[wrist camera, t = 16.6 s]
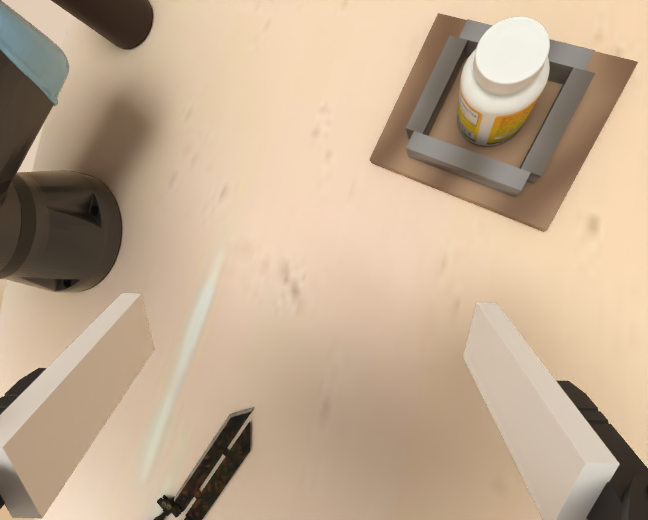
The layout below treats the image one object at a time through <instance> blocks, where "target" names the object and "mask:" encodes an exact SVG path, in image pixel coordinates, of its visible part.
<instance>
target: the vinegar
mask: <svg viewBox="0 0 648 520" xmlns="http://www.w3.org/2000/svg"><path fill="white" fill-rule="evenodd" d="M51 1H53V2H54V3H56V4H57V5H59V6H60V7H62V8H63V9H64V10H66V11H67V12H69V13H70V14H72V15H73V16H74V17H76V18H77V19H79V20H80V21H82V22H83V23H85V24H86V25H87V26H89V27H90V28H92V29H93V30H95V31H96V32H98V33H99V34H100V35H102V36H103V37H105V38H106V39H108V40H109V41H111V42H112V43H113V44H115V45H116V46H119V47H121V48H132V47H134V46H136V45H138V44H139V43H140V42H141V41H142V40H144V38H145V37H146V35H147V34H148V32H149V29H150V26H151V22H152V10H151V6H150V4H149V2H148V0H51Z"/></svg>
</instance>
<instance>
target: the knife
mask: <svg viewBox="0 0 648 520" xmlns="http://www.w3.org/2000/svg"><path fill="white" fill-rule="evenodd" d="M252 410H253V408H250V409H246V410H243V411H239V412H236V413H232V414H230V415H229V417H228V418H227V420H226V421H225V423H224V424H223V426H222V427H221V429H220V430H219V432H218V433H217V435H216V436H215V438H214V439H213V441H212V442H211V444H210V445H209V447H208V448H207V450H206V451H205V453H204V454H203V456H202V457H201V459H200V460H199V462H198V463H197V465H196V466H195V468H194V469H193V471H192V472H191V474H190V475H189V477H188V478H187V480H186V481H185V482H184V484H183V485H182V487H181V488H180V490H179V491H178V493H177V494H176V496H175V497H173V498H172V499H170V500H168V499H167V497H166V496H165V495H164V496H163V499H162V498H160V499H159V500H158V501H157V503H158V504H159V505H160V506H161V508H162V509H163V511H164V512H163V513H162V514H161V515H160V516H158V517H156V518H155V519H154V520H163V519H164V518H165V516H166V515H167V516H168V515H169V514H170V513H171V512H172V514H173V515H174V516H175V517H176V518H177V517H178V516H179V515H180V514H181V512H183V511H184V510H185V508H186V507H187V506H188V504H189V503H190V501H191V500H192V498H193V497H195V498H196V501H195V502H194V504H193V505H192V507H191V508H190V510H189V511H188V513H187V514H186V518H185V519H184V520H202V519H203V517H204V516H205V515H206V513H207V512H208V510H209V509H210V507H211V506H212V504H213V503H214V502H215V500H216V499H217V497H218V496H219V494H220V493H221V492H222V490H223V489H224V487H225V486H226V484H227V483H228V481H229V480H230V479H231V477H232V476H233V474H234V473H235V471H236V470H237V468H238V467H239V466H240V464H241V463H242V461H243V460H244V458H245V457H246V455H247V454H248V453H249V451H250V422H249V423H248V425H247V426H246V427H245V429H244V430H243V432H242V433H241V435H240V436H239V438H238V439H237V441H236V442H235V444H234V445H233V447H232V448H231V449H230V451H228V450H227V449H226V448H227V447H228V445H229V444H230V442H231V441H232V439H233V438H234V436H235V435H236V433H237V432H238V430H239V429H240V427H241V426H242V425H243V423H244V422H245V420H246V419H247V417H248V416H249V414H250V413H251V411H252ZM222 454H224V455H225V458H224V460H223V461H222V463H221V464H220V466H219V467H218V469H217V470H216V471H215V473H214V474H213V476H212V477H211V479H210V480H209V482H208V483H207V485H206V486H205V488H204V489H203V491H202V492H201V493H200V491H199V490H198V489H199V488H200V486H201V485H202V483H203V482H204V480H205V479H206V478H207V476H208V475H209V473H210V472H211V470H212V469H213V467H214V466H215V464H216V463H217V461H218V460H219V458H220V457H221V455H222Z"/></svg>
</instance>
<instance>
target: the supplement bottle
mask: <svg viewBox="0 0 648 520" xmlns="http://www.w3.org/2000/svg"><path fill="white" fill-rule="evenodd" d="M549 49H550V41H549V36H548V33H547V31H546V29H545V28H544V27H543V26H542V25H541V24H540V23H539V22H537V21H536V20H534V19H531V18H527V17H511V18H507V19H504V20H502V21H500V22H498V23H496V24H494V25H493V26H492V27H490V28H489V29H488V30H487V31H486V32H485V33H484V35H483V36H482V37H481V39H480V41H479V43H478V45H477V48H476V49H475V50H474V51H473V52H472V54H471V55H470V56H469V58H468V59H467V61H466V63H465V65H464V67H463V70H462V74H461V81H460V90H459V100H458V111H457V123H458V127H459V129H460V131H461V133H462V134H463V136H464V137H465V138H466V139H467V140H469V141H470V142H472V143H474V144H477V145H481V146H494V145H497V144H500V143H503V142H505V141H507V140H509V139H510V138H512V137H513V136H515V135H516V134H517V133H518V132H519V130H520V129H521V128H522V126H523V125H524V123H525V121H526V119H527V118H528V116H529V114H530V112H531V110H532V109H533V107H534V105H535V103H536V102H537V100H538V98H539V97H540V95H541V93H542V91H543V89H544V87H545V85H546V83H547V80H548V76H549V69H550V66H549V59H548V54H549Z"/></svg>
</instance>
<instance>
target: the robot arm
mask: <svg viewBox="0 0 648 520" xmlns="http://www.w3.org/2000/svg"><path fill="white" fill-rule="evenodd" d="M68 72H69V64H68V60H67V58H66V56H65V54H64V52H63V51H62V50H61V49H60V48H59V47H58V46H57V45H56V44H55V43H54V42H53V41H52V40H50V39H49V38H48V37H47V36H45V35H44V34H43V33H42V32H41V31H39V30H38V29H37V28H35V27H34V26H33V25H32V24H31V23H29V22H28V21H27V20H25V19H24V18H23V17H22V16H20V15H19V14H18V13H16V12H15V11H14V10H13V9H11V8H10V7H9V6H8V5H6V4H5V3H4V2H2V1H1V0H0V279H7V280H11V281H15V282H19V283H22V284H26V285H30V286H34V287H37V288H41V289H45V290H49V291H53V292H77V291H84V290H87V289H89V288H91V287H93V286H95V285H96V284H98V283H99V282H100V281H101V280H102V279H103V278H104V277H105V276H106V274H107V273H108V272H109V270H110V269H111V267H112V265H113V263H114V261H115V259H116V256H117V253H118V250H119V246H120V240H121V219H120V213H119V209H118V206H117V203H116V201H115V198H114V196H113V195H112V193H111V192H110V190H109V189H108V188H107V187H106V185H105V184H103V183H102V182H101V181H100V180H98V179H96V178H94V177H92V176H88V175H85V174H81V173H77V172H73V171H43V172H21V173H17V171H18V169H19V167H20V166H21V164H22V162H23V160H24V158H25V156H26V155H27V153H28V151H29V149H30V147H31V145H32V144H33V141H34V140H35V138H36V136H37V134H38V133H39V131H40V129H41V127H42V125H43V123H44V122H45V120H46V118H47V116H48V114H49V112H50V111H51V109H52V107H53V105H54V106H56V105H57V104H58V99H57V97H58V95H59V93H60V91H61V89H62V86H63V84H64V82H65V80H66V78H67V76H68ZM153 351H154V345H153V340H152V336H151V332H150V328H149V323H148V319H147V315H146V311H145V307H144V302H143V298H142V294H141V293H121V294H120V295H119V296H118V297H117V298H116V299H115V300H114V301H113V302H112V303H111V304H110V305H109V306H108V307H107V308H106V309H105V310H104V311H103V312H102V313H101V314H100V315H99V316H98V317H97V318H96V319H95V320H94V321H93V322H92V323H91V324H90V325H89V326H88V327H87V328H86V329H85V331H84V332H83V333H82V334H81V335H80V336H79V337H78V338H77V339H76V340H75V341H74V342H73V343H72V344H71V345H70V346H69V347H68V348H67V349H66V350H65V351H64V352H63V353H62V354H61V355H60V356H59V357H58V358H57V359H56V360H55V361H54V362H53V363H52V364H51V365H50V366H49V367H48V368H38V369H36V370H35V371H33V372H32V373H30V374H28V375H27V376H25V377H23V378H22V379H20V380H19V381H18V382H17V383H16V384H15V385H14V386H13V387H12V388H11V389H10V390H8V391H7V392H6V393H5V396H4V397H1V398H0V509H1V508H2V506H3V505H4V504H5V506H6V507H7V509H8V511H9V512H10V514H11V515H12V517H13V518H43V516H44V515H45V513H46V512H47V510H48V509H49V507H50V506H51V504H52V503H53V501H54V500H55V498H56V497H57V495H58V494H59V492H60V491H61V489H62V488H63V486H64V485H65V483H66V482H67V480H68V479H69V477H70V476H71V474H72V473H73V471H74V470H75V468H76V467H77V465H78V464H79V462H80V461H81V459H82V458H83V456H84V455H85V453H86V452H87V450H88V449H89V447H90V446H91V444H92V443H93V441H94V439H95V438H96V436H97V435H98V433H99V432H100V430H101V429H102V427H103V426H104V424H105V423H106V421H107V420H108V418H109V417H110V415H111V414H112V412H113V411H114V409H115V408H116V406H117V405H118V403H119V402H120V400H121V399H122V397H123V396H124V394H125V393H126V391H127V390H128V388H129V387H130V385H131V384H132V382H133V381H134V379H135V378H136V376H137V375H138V373H139V372H140V370H141V369H142V367H143V366H144V364H145V363H146V361H147V360H148V358H149V357H150V355H151V354H152V352H153ZM463 358H464V360H465V362H466V364H467V366H468V368H469V370H470V372H471V374H472V376H473V379H474V381H475V383H476V385H477V387H478V389H479V391H480V393H481V395H482V397H483V399H484V401H485V403H486V405H487V407H488V409H489V411H490V413H491V415H492V417H493V419H494V421H495V423H496V425H497V427H498V429H499V431H500V434H501V436H502V438H503V440H504V442H505V444H506V446H507V448H508V450H509V452H510V454H511V456H512V458H513V460H514V462H515V464H516V466H517V468H518V470H519V472H520V474H521V476H522V478H523V480H524V482H525V484H526V486H527V489H528V491H529V493H530V495H531V497H532V499H533V501H534V503H535V505H536V507H537V509H538V511H539V513H540V515H541V517H542V519H543V520H648V468H647V467H646V466H645V465H644V463H643V462H642V461H641V460H640V459H639V457H638V456H637V455H636V454H635V453H634V451H633V450H632V449H631V448H630V446H629V445H628V444H627V443H626V442H625V440H624V439H623V438H622V437H621V436H620V434H619V433H618V432H617V431H616V430H615V428H614V427H613V426H612V425H611V424H609V423H608V420H607V419H606V418H605V416H604V415H603V414H602V413H601V412H599V411H598V408H597V407H596V406H595V404H594V403H593V402H592V401H591V400H590V398H589V397H588V396H587V395H586V394H585V393H584V392H583V391H581V390H580V389H579V388H577V387H576V386H575V385H573V384H572V383H571V382H569V381H556V380H555V379H554V378H553V376H552V375H551V374H550V372H549V371H548V370H547V368H546V367H545V366H544V364H543V363H542V362H541V361H540V359H539V358H538V357H537V355H536V354H535V353H534V351H533V350H532V349H531V348H530V346H529V345H528V344H527V342H526V341H525V340H524V338H523V337H522V336H521V334H520V333H519V332H518V331H517V329H516V328H515V327H514V325H513V324H512V323H511V321H510V320H509V319H508V318H507V316H506V315H505V314H504V312H503V311H502V310H501V308H500V307H499V306H498V304H497V303H491V302H476V306H475V310H474V314H473V318H472V322H471V327H470V331H469V335H468V339H467V343H466V347H465V351H464V355H463Z"/></svg>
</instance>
